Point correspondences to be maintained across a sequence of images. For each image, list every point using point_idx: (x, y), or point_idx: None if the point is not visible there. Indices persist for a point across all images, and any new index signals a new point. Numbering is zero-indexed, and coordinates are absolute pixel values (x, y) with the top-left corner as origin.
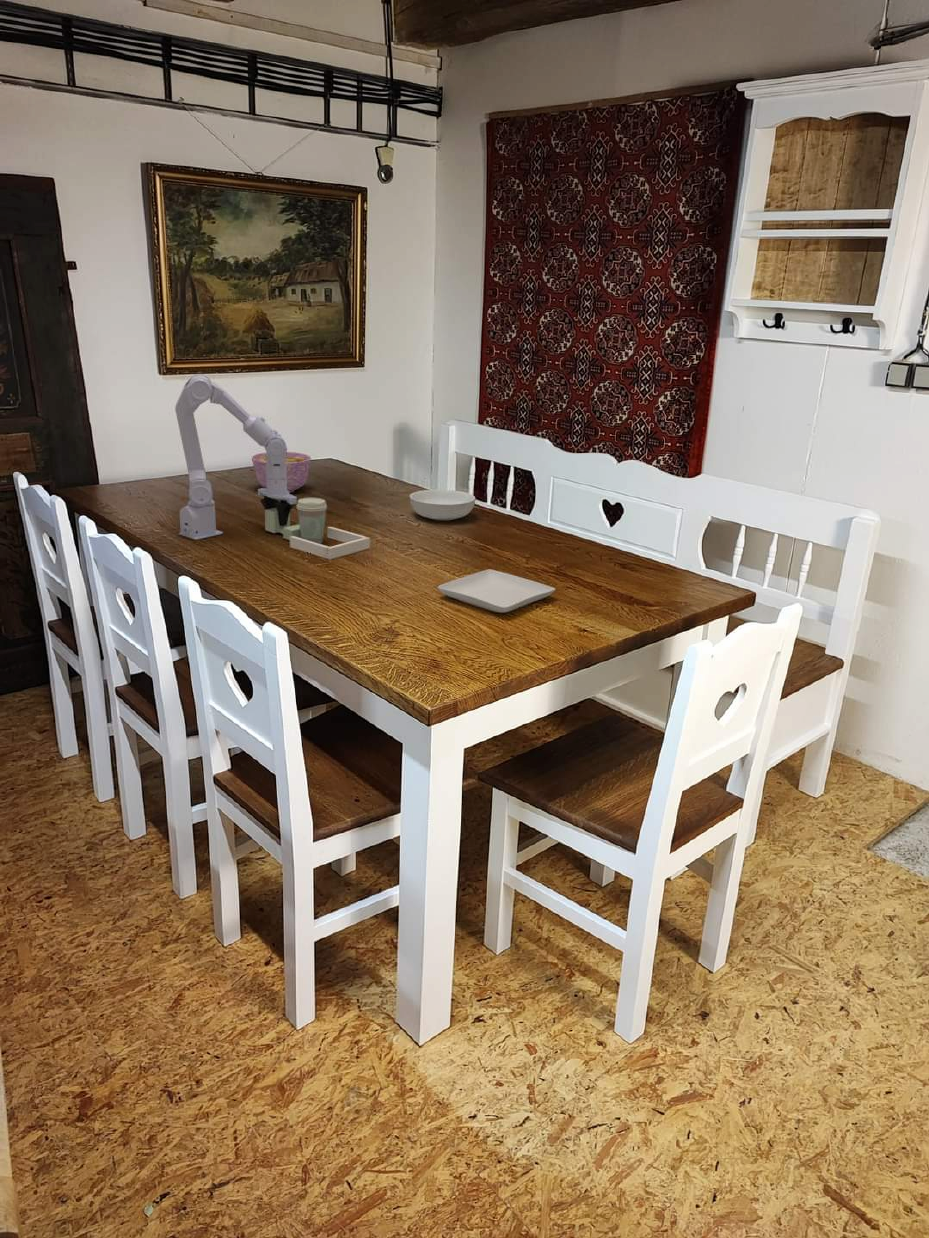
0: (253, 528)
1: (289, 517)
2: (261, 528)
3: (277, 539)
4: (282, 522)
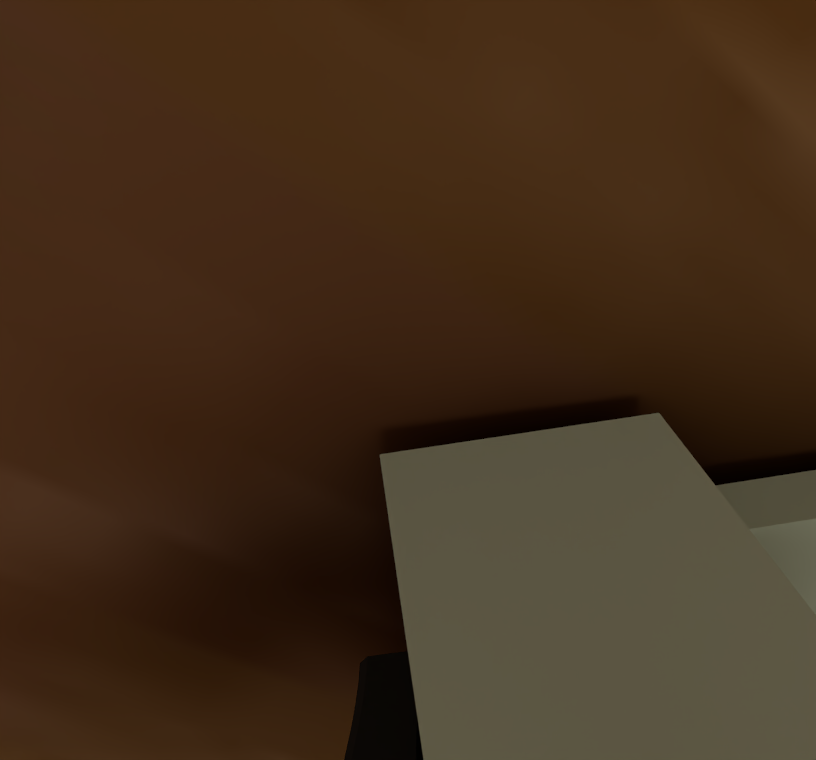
0: (111, 719)
1: (809, 630)
2: (172, 645)
3: None
4: None
